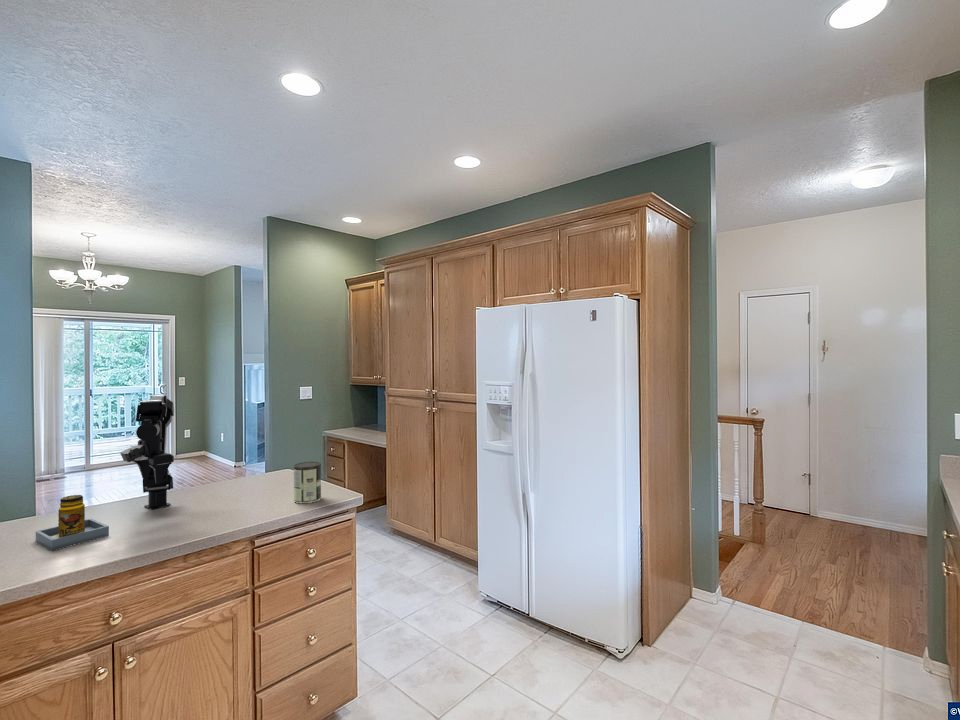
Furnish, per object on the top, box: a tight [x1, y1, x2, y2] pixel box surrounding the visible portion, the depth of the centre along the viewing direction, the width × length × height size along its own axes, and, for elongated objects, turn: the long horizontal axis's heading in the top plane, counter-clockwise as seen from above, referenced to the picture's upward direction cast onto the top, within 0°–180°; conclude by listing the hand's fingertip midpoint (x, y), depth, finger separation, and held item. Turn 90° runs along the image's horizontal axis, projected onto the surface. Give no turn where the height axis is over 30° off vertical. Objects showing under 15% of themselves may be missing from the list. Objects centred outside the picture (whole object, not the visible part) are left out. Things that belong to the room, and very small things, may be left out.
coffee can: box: [292, 461, 322, 504], centre depth 182 cm, size 10×10×14 cm
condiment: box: [51, 494, 86, 539], centre depth 142 cm, size 7×8×12 cm
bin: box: [35, 518, 110, 552], centre depth 142 cm, size 14×14×3 cm
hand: (151, 481), depth 160 cm, fingers open, 9 cm apart
